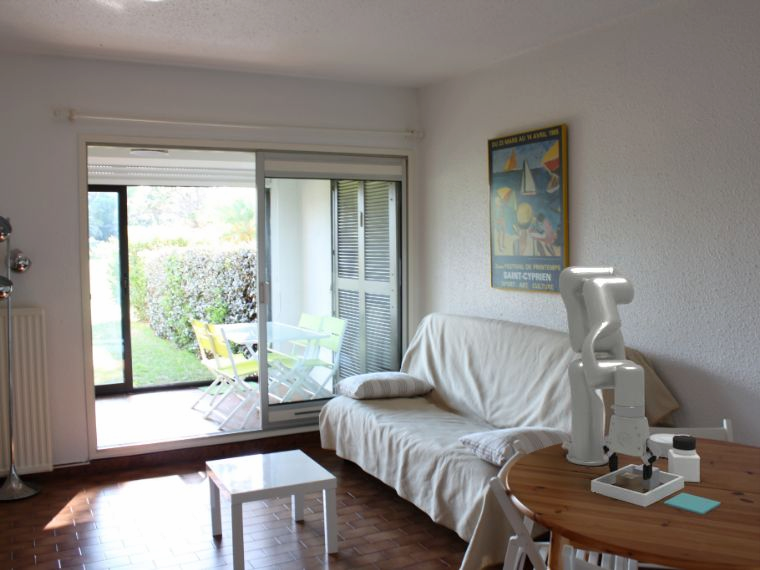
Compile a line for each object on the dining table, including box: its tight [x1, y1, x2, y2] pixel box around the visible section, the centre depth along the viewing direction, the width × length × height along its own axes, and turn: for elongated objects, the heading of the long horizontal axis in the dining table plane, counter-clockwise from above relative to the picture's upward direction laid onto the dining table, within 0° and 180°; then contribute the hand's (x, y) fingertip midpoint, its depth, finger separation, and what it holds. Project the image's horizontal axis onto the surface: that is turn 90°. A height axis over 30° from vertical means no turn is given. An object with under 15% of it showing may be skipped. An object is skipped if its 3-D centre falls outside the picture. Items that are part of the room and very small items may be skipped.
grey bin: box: [590, 463, 685, 508], centre depth 194 cm, size 16×21×3 cm
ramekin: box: [650, 433, 677, 459], centre depth 225 cm, size 11×11×5 cm
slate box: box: [633, 463, 661, 491], centre depth 197 cm, size 5×5×5 cm
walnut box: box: [615, 471, 644, 494], centre depth 191 cm, size 5×5×5 cm
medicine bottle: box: [667, 434, 701, 483], centre depth 202 cm, size 7×7×12 cm
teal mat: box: [663, 492, 722, 516], centre depth 182 cm, size 10×10×1 cm
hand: (630, 475), depth 190 cm, fingers open, 9 cm apart
